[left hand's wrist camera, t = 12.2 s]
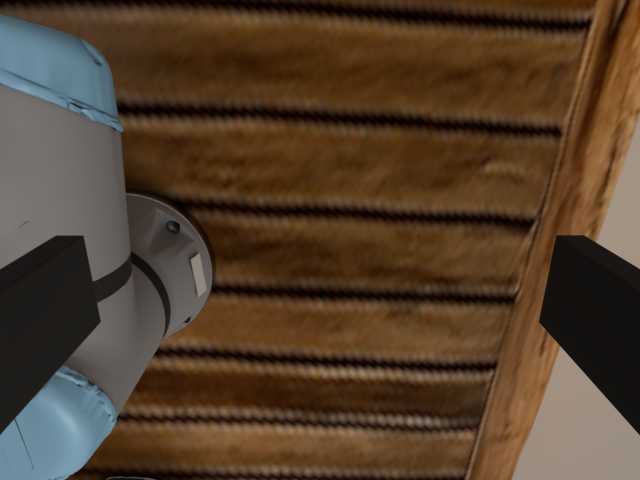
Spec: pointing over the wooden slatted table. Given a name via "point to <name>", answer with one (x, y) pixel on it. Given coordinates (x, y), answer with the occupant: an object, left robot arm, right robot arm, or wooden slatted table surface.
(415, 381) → the wooden slatted table surface
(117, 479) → the fossil
